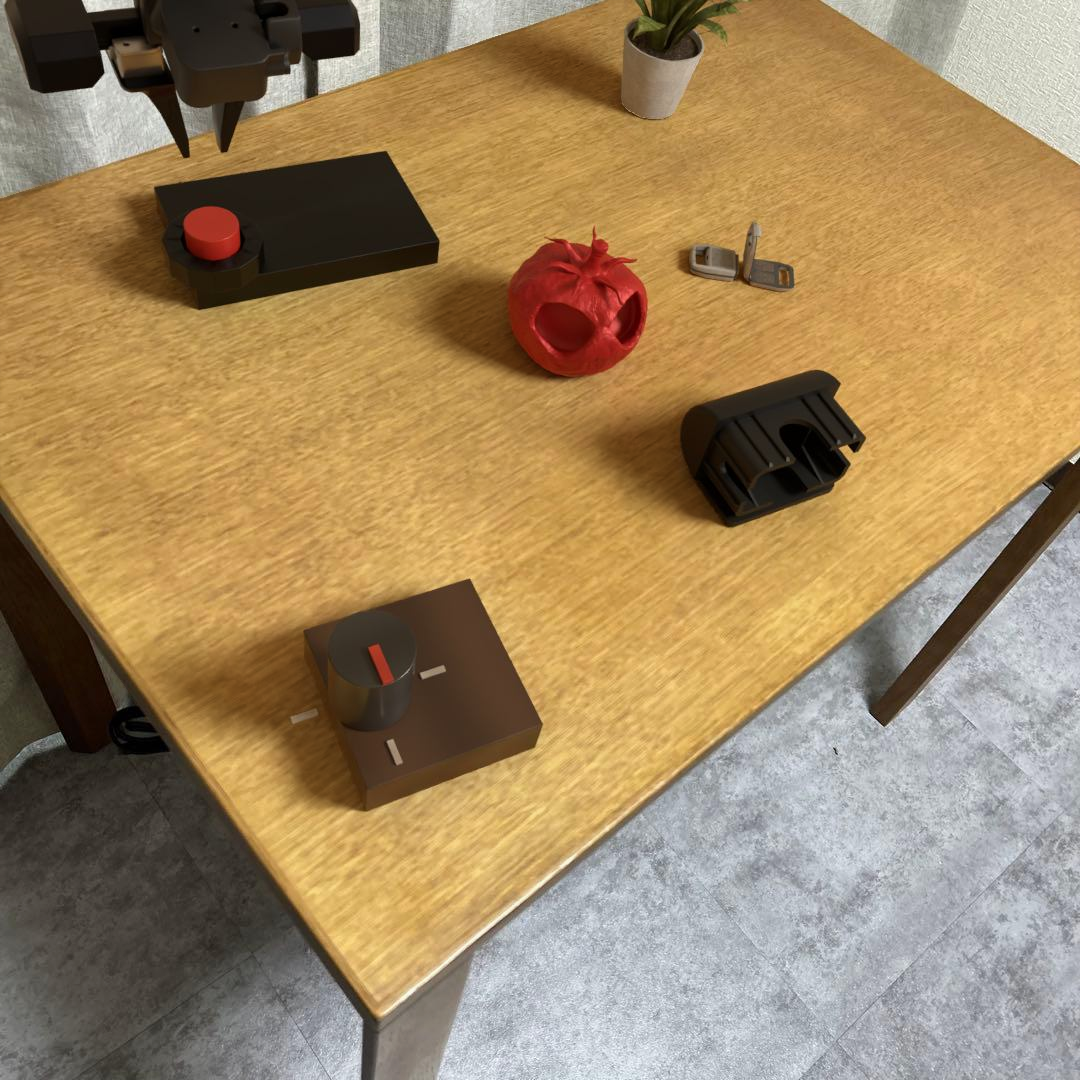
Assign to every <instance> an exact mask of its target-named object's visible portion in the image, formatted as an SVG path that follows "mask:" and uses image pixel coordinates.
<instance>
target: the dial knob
mask: <svg viewBox="0 0 1080 1080" xmlns="http://www.w3.org/2000/svg"><path fill="white" fill-rule="evenodd" d="M367 610H368V611H366V610H361V611H357V612H355V613H352V614H350V615H348V617H347V616H346V617H347V618H345V619H344V620H342V621H341V622H340V623H339V624H338V625H337V626H336V627H335V628H334V630H333V632H332V633H331V635H330V638H329V641H328V647H327V650H328V701H329V704H330V707H331V709H332V711H333V713H334V714H335V716H336V717H337V718H338V719H339V720H340V721H341V722H342V723H344V724H345V725H347V726H349V727H351V728H354V729H357V730H361V731H377V730H382V729H385V728H387V727H390V726H391V725H393V724H395V723H396V722H397V721H399V720H400V719H401V718H402V717H403V716H404V714H405V713H406V711H407V709H408V707H409V705H410V702H411V696H412V688H413V679H414V671H415V663H416V655H417V644H416V639H415V637H414V634H413V633H412V631H411V629H410V628H409V627H408V625H407V624H406V623H405V622H403V621H402V620H401V619H400V618H398V617H396V616H394V615H392V614H390V613H387V612H383V611H375V610H369V609H367Z"/></svg>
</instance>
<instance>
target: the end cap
mask: <svg viewBox="0 0 1080 1080" xmlns="http://www.w3.org/2000/svg"><path fill="white" fill-rule="evenodd" d="M841 386H842V383H841V381H839V379H837V378H836V376H834V375H833V374H831V373H830V372H828V371H825V370H822V369H809V370H807V371H804V372H799V373H797V374H793V375H790V376H787V377H784V378H781V379H777V380H774V381H770V382H767V383H765V384H760V385H757V386H754V387H751V388H748V389H745V390H741V391H738V392H735V393H731V394H728V395H724V396H721V397H717V398H715V399H711V400H708V401H705V402H701V403H699V404H695V405H693V406H691V407H689V409H688V410H687V411H686V412H685V413H684V416H683V417H682V420H681V423H680V430H679V443H680V448H681V449H680V450H681V454H682V457H683V460H684V463H685V467H686V468H687V470H688V472H689V474H690V476H691V477H692V479H693V480H694V481H695V484H696V486H697V487H698V488H699V490H700V491H701V493H702V494H703V495H704V497H705V498H706V500H707V502H708V503H709V504H710V506H711V507H712V508H713V510H714V511H715V512H716V514H717V515H718V517H719V518H720V520H721V521H722V523H723V524H724V525H725V526H727V527H729V528H736V527H739V526H741V525H744V524H747V523H750V522H752V521H755V520H758V519H761V518H763V517H766V516H769V515H771V514H774V513H778V512H780V511H783V510H785V509H788V508H791V507H794V506H797V505H800V504H802V503H805V502H809V501H811V500H814V499H816V498H819V497H822V496H825V495H827V494H830V493H831V492H832V490H833V489H834V487H835V485H836V484H835V483H837V482H838V481H840V480H841V479H842V478H844V477H845V475H846V474H847V472H848V470H849V468H850V467H851V465H852V463H851V462H850V461H849V459H848V458H847V456H846V455H845V454H844V453H843V451H842V450H841V449H840V448H842V447H846V446H847V447H848V449H850V451H851V452H852V453H853V454H856V453H859V452H860V450H861V449H862V447H863V445H864V443H865V441H866V440H867V436H866V435H865V434H864V433H863V432H862V430H861V429H860V428H859V427H858V425H856V423H855V422H854V421H853V419H852V418H851V417H850V416H849V415H848V413H847V412H846V411H845V410H844V408H843V407H842V406H841V405H840V403H839V402H838V401H837V400H836V399H835V396H836V395H837V393H838V391H839V390H840V387H841Z"/></svg>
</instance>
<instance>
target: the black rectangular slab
mask: <svg viewBox="0 0 1080 1080" xmlns="http://www.w3.org/2000/svg"><path fill="white" fill-rule="evenodd" d="M153 191H154V198H155V204H156V210H157V213H158V215H159V218H160V220H161V223H162V225H163V227H164V230H165V231H164V233H163V236H162V238H161V244H162V251H163V257H164V261H165V264H166V266H167V269H168V271H169V273H170V276H171V277H172V278H174V279H176V280H177V281H179V282H180V283H181V284H183V285H185V286H186V287H188V288H189V290H190V292H191V295H192V298H193V300H194V302H195V304H196V307H197V310H199V311H203V310H208V309H213V308H217V307H223V306H227V305H233V304H238V303H243V302H248V301H252V300H253V301H254V300H259V299H264V298H267V297H274V296H279V295H282V294H283V295H284V294H289V293H294V292H299V291H303V290H309V289H314V288H318V287H319V288H320V287H324V286H330V285H334V284H339V283H345V282H349V281H355V280H360V279H364V278H369V277H375V276H380V275H385V274H390V273H395V272H400V271H405V270H406V271H407V270H410V269H415V268H419V267H420V268H421V267H427V266H432V265H436V264H438V263H439V254H440V244H441V243H440V242H441V241H440V238H439V237H438V235H437V234H436V232H435V230H434V228H433V227H432V225H431V224H430V222H429V220H428V218H427V216H426V215H425V213H424V211H423V210H422V208H421V206H420V205H419V203H418V201H417V200H416V198H415V196H414V195H413V193H412V191H411V189H410V188H409V186H408V184H407V183H406V181H405V180H404V178H403V176H402V174H401V172H400V171H399V169H398V168H397V166H396V164H395V163H394V160H393V159H392V158H391V155H390V154H389V153H388V151H387V150H381V151H375V152H368V153H361V154H356V155H349V156H343V157H336V158H330V159H323V160H316V161H310V162H305V163H299V164H292V165H284V166H278V167H272V168H265V169H259V170H253V171H247V172H241V173H233V174H226V175H220V176H214V177H206V178H199V179H194V180H188V181H187V180H186V181H183V182H175V183H168V184H161V185H155V186H154V187H153ZM202 207H220V208H223V209H226V210H228V211H230V212H231V213H233V214H234V215H235V216H236V218H237V219H238V222H239V231H240V242H241V244H240V248H239V250H238V252H237V253H236V254H235V255H233V256H232V257H230V258H225V259H220V260H214V261H213V260H207V259H201V258H197V257H195V256H194V255H192V254H191V253H190V252H189V250H188V249H187V246H186V239H185V232H184V220H185V218H186V216H187V215H188V214H189V213H190V212H192V211H193V210H195V209H198V208H202Z"/></svg>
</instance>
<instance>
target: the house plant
mask: <svg viewBox="0 0 1080 1080" xmlns="http://www.w3.org/2000/svg"><path fill="white" fill-rule="evenodd" d="M634 1H635V2H636V4H637V5H638V6H639V8H640V10H641V12H642V14H640V15H638V17H636V18H633V19H631V20H630V21H629V22H628V23H627V24H626V26H625V27H624V30H623V34H624V35H623V50H622V69H621V70H622V71H621V87H620V88H621V89H620V93H621V94H620V101H621V100H622V102H621V104H622V103H623V104H624V106H625V107H626V108H627V109H628V110H630V111H631V112H634V113H635V114H637V115H639V116H641V117H645V118H653V119H658V118H659V119H660V118H665V117H668V116H670V115H672V114H673V113H674V114H675V113H676V110H677V108H678V106H679V104H680V102H681V100H682V98H683V95H684V94H685V91H686V89H687V87H688V85H689V83H690V81H691V78H692V76H693V75H694V72H695V71H696V69H697V66H698V64H699V62H700V60H701V58H702V55H703V54H704V51H705V42H704V40H703V38H702V36H701V35H702V34H704V33H713V34H714V35H716V36H717V37H718V38H719V39H721V40H722V41H723V43H724V44H725V46H726V48H728V34H727V32H726V29H725V28H724V27H723V26H722V25H721V24H720V23H719V22H716V21H714V20H711V18H716V17H720V16H727V15H732V14H740V15H742V14H743V13H742V12H741V11H740V9H738V8H737V7H736V6H735V4H736V5H737V6H739V5H738V4H739V3H745V2H746V3H750V2H751V3H752V2H755V0H724V1H722V2H715V1H714V0H650V5H651V6H650V9H651V12H650V11H649V8H648V5H647V2H646V0H634ZM708 1H709V2H711V3H713V4H711V5H708V6H706V7H703V6H705V4H707V2H708ZM702 7H703V8H702ZM701 8H702V9H701ZM700 9H701V10H700ZM699 25H701V26H703V27H705V28H707V29H708V30H706V31H705V32H700V33H698V31H697V30H695V29H696V28H697V27H698V26H699ZM624 106H623V107H624ZM674 114H673V115H674ZM673 115H672V116H673Z"/></svg>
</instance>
